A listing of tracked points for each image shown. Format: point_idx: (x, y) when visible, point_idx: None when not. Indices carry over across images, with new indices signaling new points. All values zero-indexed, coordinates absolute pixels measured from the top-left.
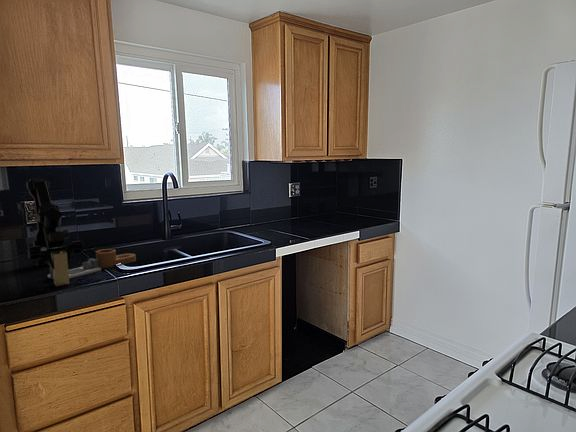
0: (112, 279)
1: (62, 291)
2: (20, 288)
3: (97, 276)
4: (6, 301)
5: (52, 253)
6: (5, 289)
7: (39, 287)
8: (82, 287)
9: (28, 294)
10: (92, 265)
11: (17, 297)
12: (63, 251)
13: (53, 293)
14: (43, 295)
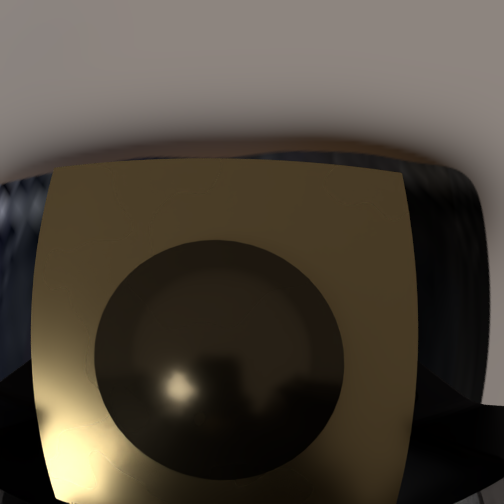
0: (3, 209)
1: (261, 155)
2: (441, 376)
3: (22, 330)
4: (475, 194)
5: (401, 397)
6: (480, 393)
7: None
8: (149, 158)
9: (418, 229)
10: None
11: (452, 217)
12: (72, 453)
13: (308, 154)
14: (355, 158)
